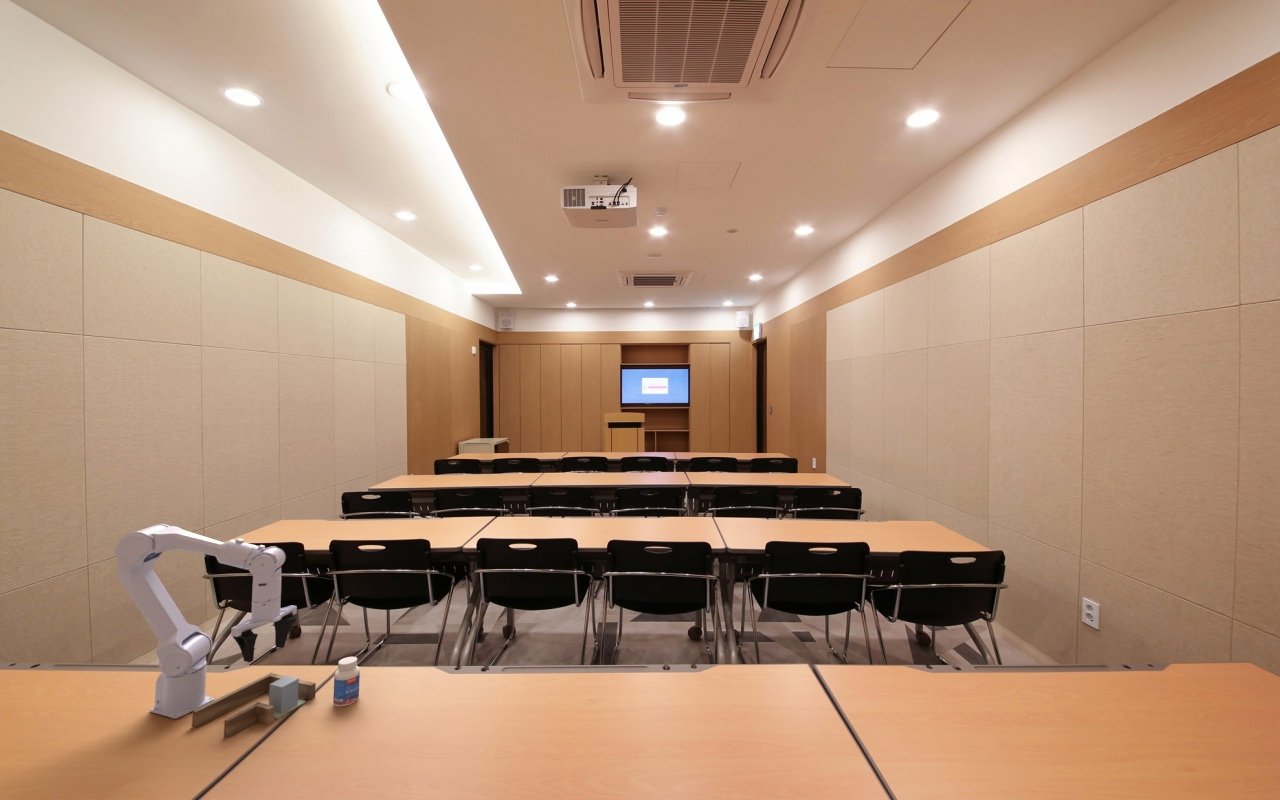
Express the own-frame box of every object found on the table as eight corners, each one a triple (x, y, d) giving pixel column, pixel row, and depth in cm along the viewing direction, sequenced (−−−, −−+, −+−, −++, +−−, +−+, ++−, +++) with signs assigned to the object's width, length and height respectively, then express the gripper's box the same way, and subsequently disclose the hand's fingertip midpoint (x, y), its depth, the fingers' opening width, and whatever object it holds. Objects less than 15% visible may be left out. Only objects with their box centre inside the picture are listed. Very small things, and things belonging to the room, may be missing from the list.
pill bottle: (347, 709, 117) (348, 667, 117) (327, 706, 118) (328, 664, 118) (364, 696, 122) (365, 656, 122) (345, 693, 123) (346, 654, 124)
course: (192, 726, 110) (192, 710, 110) (270, 686, 126) (270, 672, 126) (240, 741, 105) (240, 724, 105) (315, 697, 121) (315, 683, 121)
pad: (259, 714, 114) (259, 713, 114) (289, 698, 121) (289, 696, 121) (277, 719, 113) (277, 717, 113) (305, 702, 119) (306, 700, 119)
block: (268, 710, 116) (269, 684, 116) (285, 700, 119) (286, 675, 120) (281, 713, 114) (282, 687, 114) (297, 703, 118) (298, 678, 118)
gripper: (247, 611, 114) (244, 670, 114) (306, 590, 128) (304, 643, 128) (225, 607, 116) (223, 665, 116) (286, 587, 130) (284, 639, 130)
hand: (264, 653), depth 122 cm, fingers open, 7 cm apart
